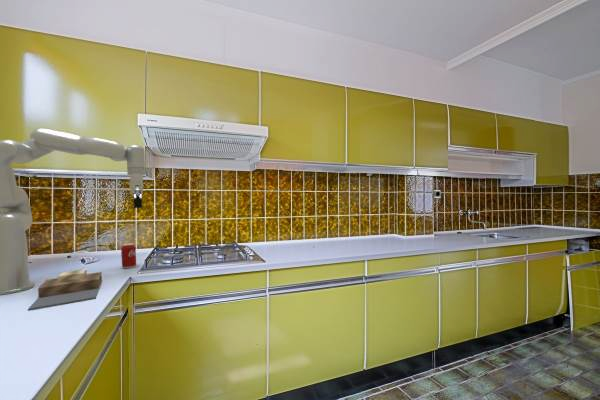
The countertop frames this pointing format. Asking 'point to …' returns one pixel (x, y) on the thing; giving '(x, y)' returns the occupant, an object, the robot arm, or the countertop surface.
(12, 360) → the countertop surface
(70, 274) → the beech tile
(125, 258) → the beverage can
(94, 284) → the walnut deck
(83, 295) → the rubber mat
